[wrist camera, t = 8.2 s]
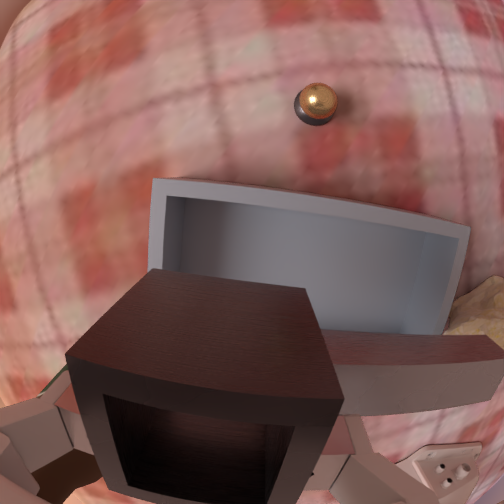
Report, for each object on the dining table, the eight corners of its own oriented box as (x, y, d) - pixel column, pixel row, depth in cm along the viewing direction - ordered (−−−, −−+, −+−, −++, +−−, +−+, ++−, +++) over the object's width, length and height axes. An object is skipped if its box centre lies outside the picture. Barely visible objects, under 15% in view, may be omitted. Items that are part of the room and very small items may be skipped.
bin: (432, 215, 24) (471, 227, 18) (401, 337, 26) (427, 371, 21) (178, 177, 24) (153, 178, 18) (170, 314, 27) (148, 348, 21)
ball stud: (335, 92, 22) (345, 80, 18) (331, 128, 22) (342, 121, 19) (296, 85, 22) (301, 71, 18) (292, 122, 22) (296, 113, 19)
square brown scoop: (496, 305, 11) (575, 364, 5) (456, 397, 12) (506, 470, 7) (152, 268, 11) (64, 353, 5) (155, 385, 12) (108, 489, 6)
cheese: (512, 289, 27) (557, 222, 16) (527, 343, 23) (588, 297, 12) (409, 322, 32) (419, 266, 21) (420, 381, 28) (441, 359, 17)
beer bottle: (107, 309, 27) (-63, 492, 3) (173, 356, 28) (72, 589, 4) (83, 356, 28) (-42, 513, 5) (140, 398, 29) (54, 581, 6)
